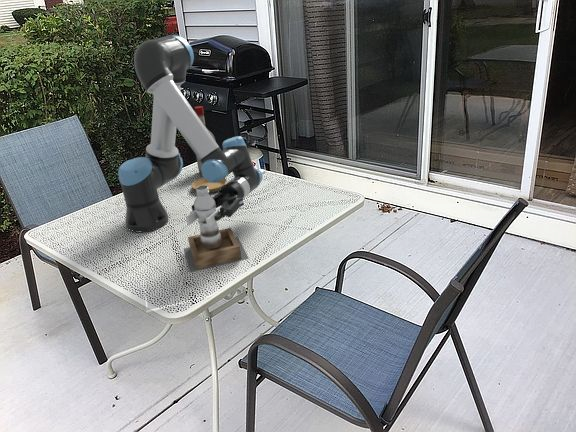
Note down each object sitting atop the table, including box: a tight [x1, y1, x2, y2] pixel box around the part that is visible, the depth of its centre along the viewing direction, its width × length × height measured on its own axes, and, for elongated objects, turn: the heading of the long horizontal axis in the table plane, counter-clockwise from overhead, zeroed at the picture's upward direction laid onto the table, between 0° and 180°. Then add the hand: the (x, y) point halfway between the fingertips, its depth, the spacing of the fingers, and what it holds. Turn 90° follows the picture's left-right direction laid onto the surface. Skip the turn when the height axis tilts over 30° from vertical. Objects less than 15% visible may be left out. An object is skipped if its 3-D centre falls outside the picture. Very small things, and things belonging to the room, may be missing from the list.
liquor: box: [194, 105, 217, 177], centre depth 219 cm, size 9×9×30 cm
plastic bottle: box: [193, 185, 222, 249], centre depth 150 cm, size 6×7×20 cm
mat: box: [183, 236, 250, 273], centre depth 155 cm, size 18×16×1 cm
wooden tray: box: [187, 227, 242, 269], centre depth 154 cm, size 14×14×4 cm
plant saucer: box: [191, 177, 228, 194], centre depth 208 cm, size 15×15×3 cm
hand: (197, 222), depth 146 cm, fingers closed on plastic bottle, 6 cm apart
